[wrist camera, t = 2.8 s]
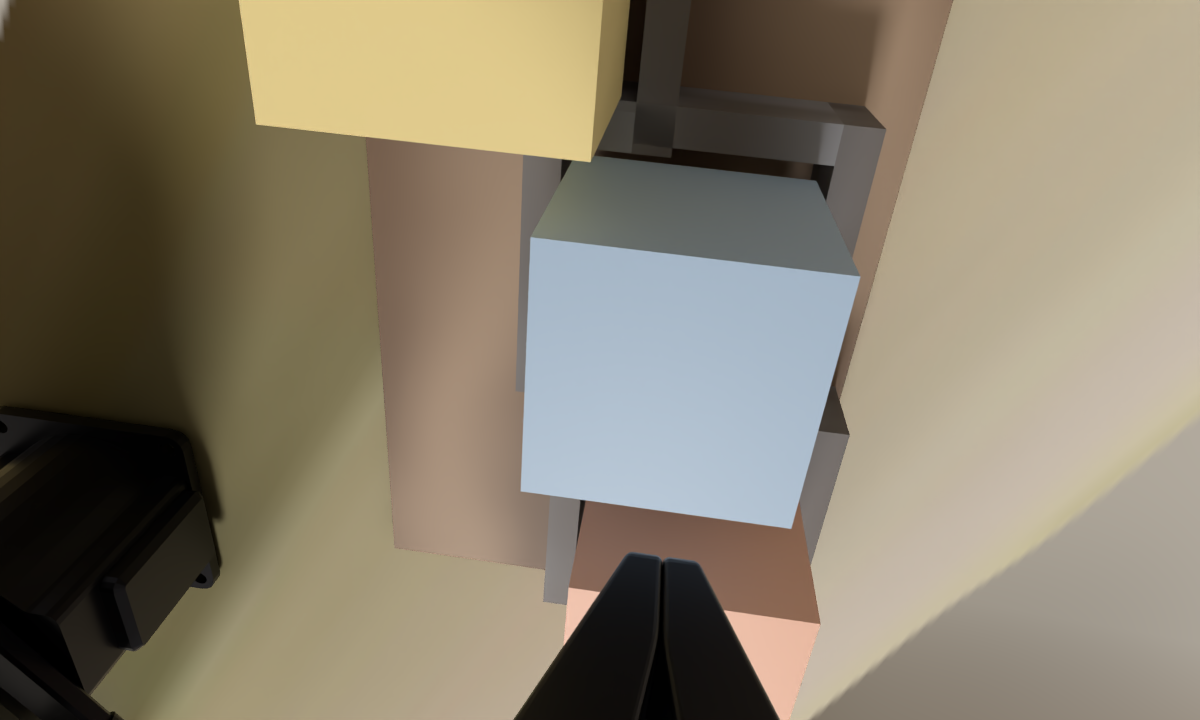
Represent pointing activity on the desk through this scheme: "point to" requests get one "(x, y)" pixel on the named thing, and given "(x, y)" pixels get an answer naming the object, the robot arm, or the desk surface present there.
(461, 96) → the yellow cube
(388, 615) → the desk surface
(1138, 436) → the desk surface
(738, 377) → the pale blue cube
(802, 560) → the peach cube
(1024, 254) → the desk surface
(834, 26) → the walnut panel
